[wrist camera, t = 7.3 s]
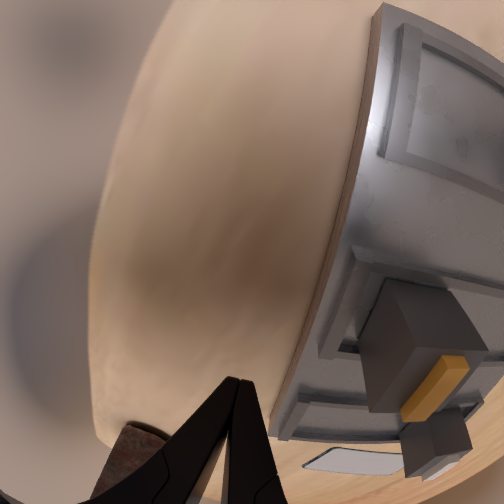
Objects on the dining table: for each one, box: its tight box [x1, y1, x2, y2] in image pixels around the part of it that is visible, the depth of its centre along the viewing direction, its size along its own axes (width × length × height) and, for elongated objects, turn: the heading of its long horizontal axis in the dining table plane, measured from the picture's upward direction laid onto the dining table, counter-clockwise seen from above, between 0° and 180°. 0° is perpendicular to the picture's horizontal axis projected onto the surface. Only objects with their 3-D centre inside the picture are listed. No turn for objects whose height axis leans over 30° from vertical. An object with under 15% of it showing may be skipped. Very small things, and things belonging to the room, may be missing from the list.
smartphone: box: [302, 447, 404, 475], centre depth 25 cm, size 7×1×15 cm
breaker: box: [399, 407, 473, 482], centre depth 14 cm, size 4×4×5 cm
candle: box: [90, 425, 166, 499], centre depth 18 cm, size 8×7×20 cm
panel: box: [267, 2, 504, 444], centre depth 13 cm, size 18×28×3 cm, turn 172°
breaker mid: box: [358, 279, 489, 422], centre depth 10 cm, size 4×4×5 cm
